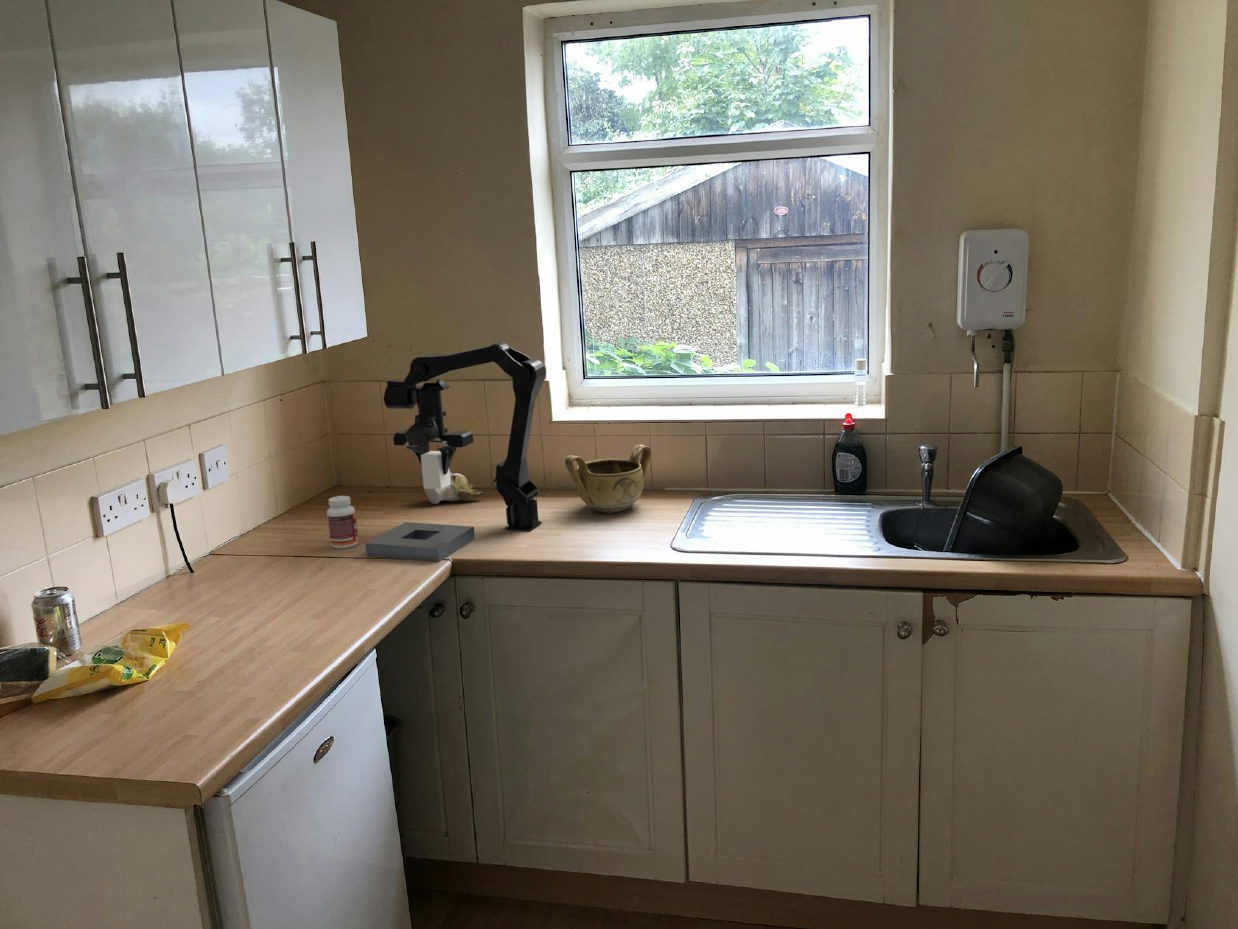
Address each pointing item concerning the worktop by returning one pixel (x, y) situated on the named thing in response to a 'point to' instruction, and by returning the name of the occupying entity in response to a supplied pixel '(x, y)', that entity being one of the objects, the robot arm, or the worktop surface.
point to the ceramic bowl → (610, 480)
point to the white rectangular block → (434, 471)
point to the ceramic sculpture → (453, 490)
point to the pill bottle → (342, 523)
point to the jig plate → (420, 541)
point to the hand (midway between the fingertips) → (436, 473)
